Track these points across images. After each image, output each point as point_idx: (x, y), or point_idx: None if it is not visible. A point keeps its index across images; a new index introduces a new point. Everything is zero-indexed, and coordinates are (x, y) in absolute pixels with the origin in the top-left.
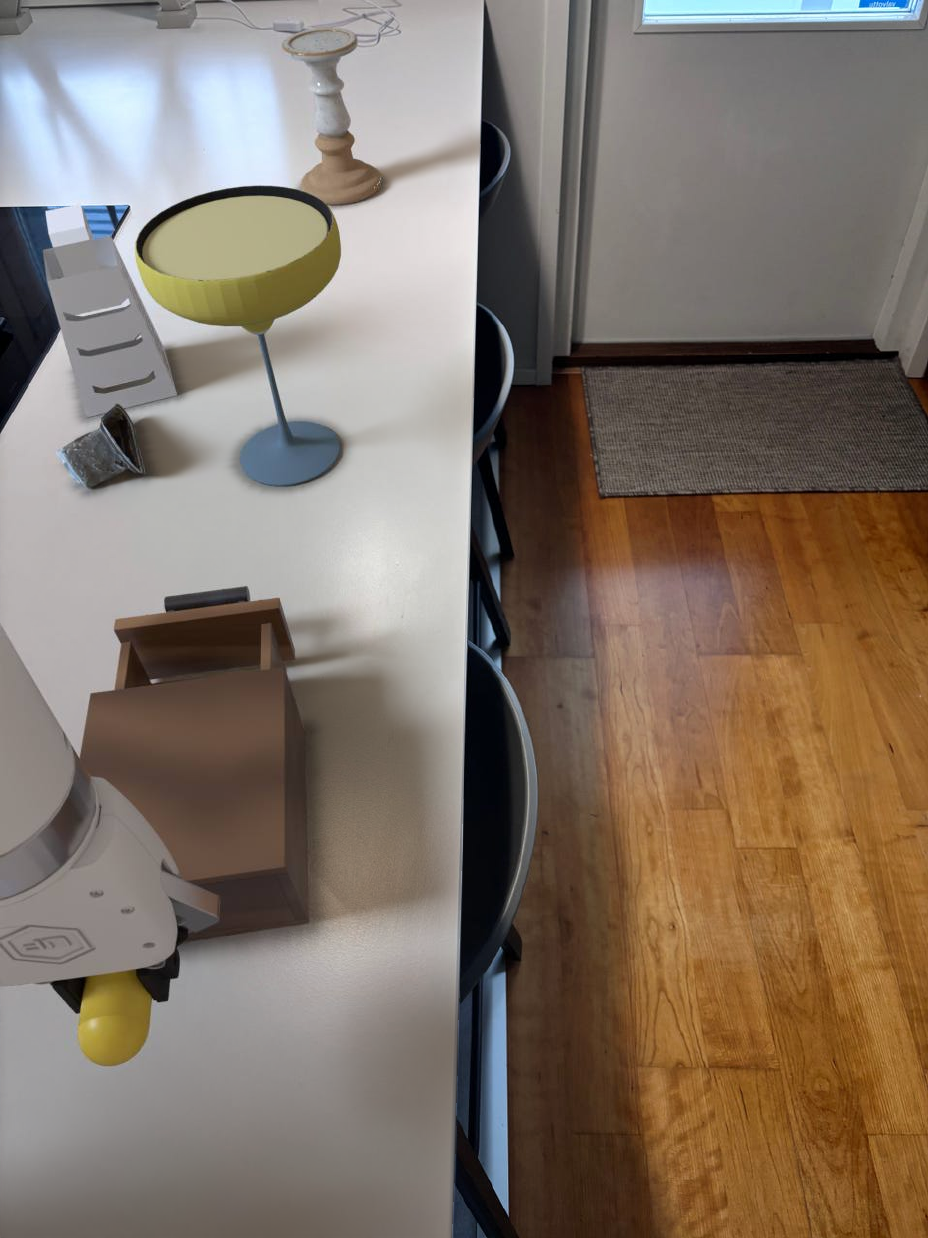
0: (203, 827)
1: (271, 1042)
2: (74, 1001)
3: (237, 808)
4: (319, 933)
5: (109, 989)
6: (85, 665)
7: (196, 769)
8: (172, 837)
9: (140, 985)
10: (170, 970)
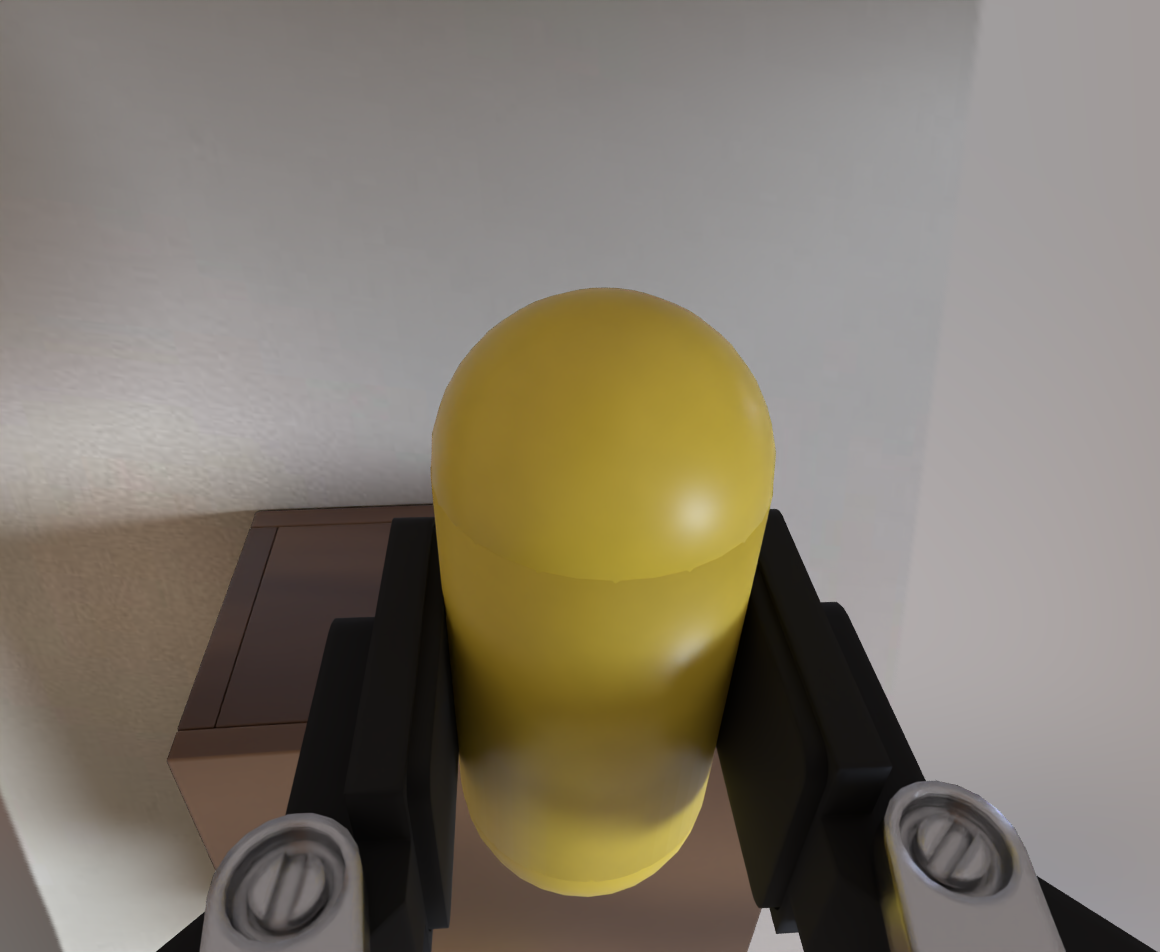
0: None
1: (302, 258)
2: (782, 607)
3: None
4: (226, 488)
5: (598, 682)
6: None
7: (475, 925)
8: None
9: (465, 648)
10: (312, 705)
